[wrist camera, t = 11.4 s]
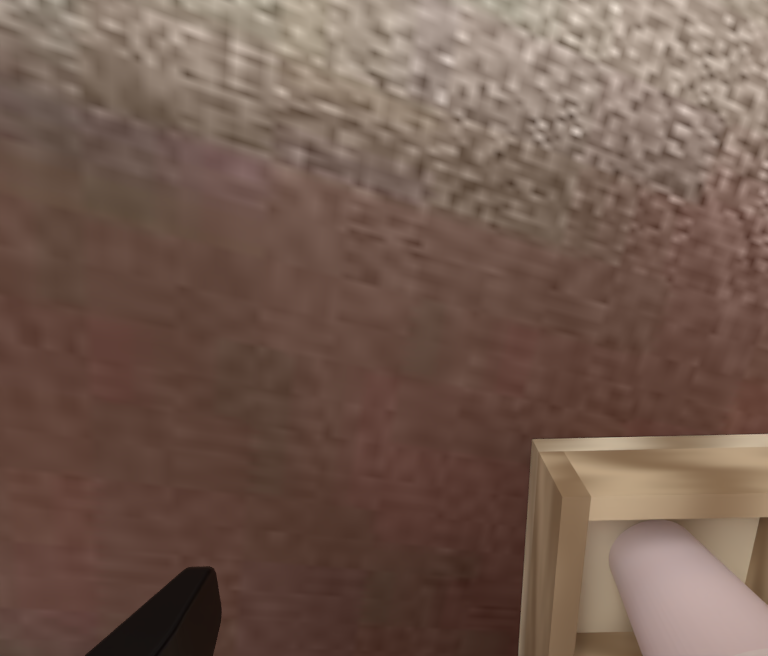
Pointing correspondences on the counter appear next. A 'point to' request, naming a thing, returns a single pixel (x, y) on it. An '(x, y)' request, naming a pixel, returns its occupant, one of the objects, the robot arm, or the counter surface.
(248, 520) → the counter surface
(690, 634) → the smoothie
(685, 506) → the tray
